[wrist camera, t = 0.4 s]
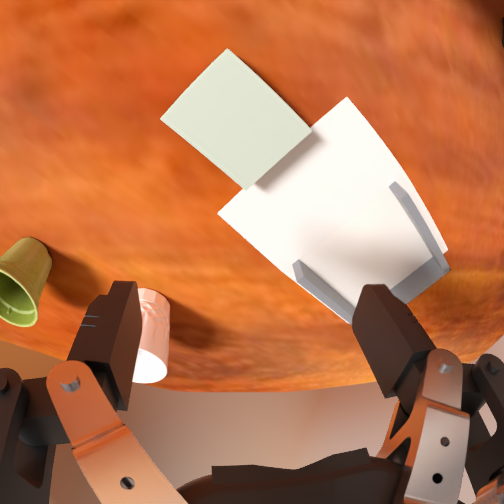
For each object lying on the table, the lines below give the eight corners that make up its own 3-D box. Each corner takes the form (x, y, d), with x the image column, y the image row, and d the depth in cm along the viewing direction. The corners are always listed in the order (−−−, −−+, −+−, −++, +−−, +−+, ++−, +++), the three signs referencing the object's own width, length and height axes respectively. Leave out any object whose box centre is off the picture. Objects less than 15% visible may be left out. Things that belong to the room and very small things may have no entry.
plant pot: (5, 262, 34) (-22, 303, 27) (12, 213, 30) (-24, 254, 23) (56, 291, 38) (34, 337, 31) (69, 246, 34) (41, 294, 27)
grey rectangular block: (227, 49, 23) (227, 48, 20) (303, 122, 28) (312, 130, 25) (167, 111, 26) (159, 119, 23) (244, 176, 31) (246, 190, 28)
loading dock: (343, 95, 27) (365, 105, 23) (439, 239, 39) (459, 263, 34) (217, 209, 34) (216, 237, 29) (344, 311, 45) (354, 339, 41)
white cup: (116, 315, 41) (100, 373, 33) (123, 276, 37) (102, 338, 29) (168, 329, 44) (160, 388, 35) (181, 293, 39) (173, 357, 31)
